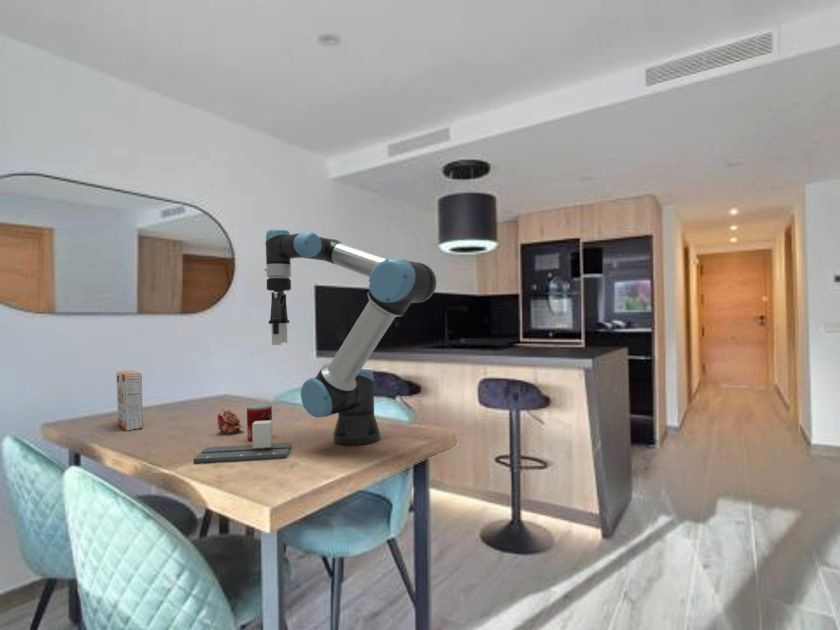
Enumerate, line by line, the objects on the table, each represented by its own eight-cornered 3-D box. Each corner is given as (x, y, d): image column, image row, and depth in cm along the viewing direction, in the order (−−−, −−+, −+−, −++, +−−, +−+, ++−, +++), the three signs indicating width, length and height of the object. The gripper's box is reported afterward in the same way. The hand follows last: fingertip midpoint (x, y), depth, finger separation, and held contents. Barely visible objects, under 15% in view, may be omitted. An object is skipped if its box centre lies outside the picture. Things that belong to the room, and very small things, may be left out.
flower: (207, 432, 161) (220, 413, 161) (212, 421, 170) (224, 403, 170) (232, 445, 164) (245, 426, 164) (236, 433, 173) (248, 416, 173)
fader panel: (291, 447, 146) (291, 442, 146) (286, 458, 134) (286, 453, 134) (206, 451, 143) (206, 447, 143) (193, 464, 131) (193, 458, 131)
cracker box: (116, 425, 182) (115, 371, 182) (134, 423, 186) (133, 370, 186) (124, 431, 172) (123, 374, 172) (143, 428, 176) (142, 372, 176)
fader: (272, 448, 142) (272, 420, 142) (270, 452, 138) (270, 423, 138) (255, 449, 141) (255, 421, 141) (252, 453, 137) (252, 424, 137)
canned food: (264, 442, 153) (264, 408, 153) (242, 441, 155) (241, 407, 155) (276, 436, 160) (276, 403, 160) (255, 435, 162) (254, 403, 162)
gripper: (273, 281, 165) (274, 342, 165) (259, 274, 140) (260, 346, 140) (295, 281, 166) (296, 341, 166) (285, 274, 141) (286, 345, 141)
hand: (280, 343), depth 153 cm, fingers open, 13 cm apart
